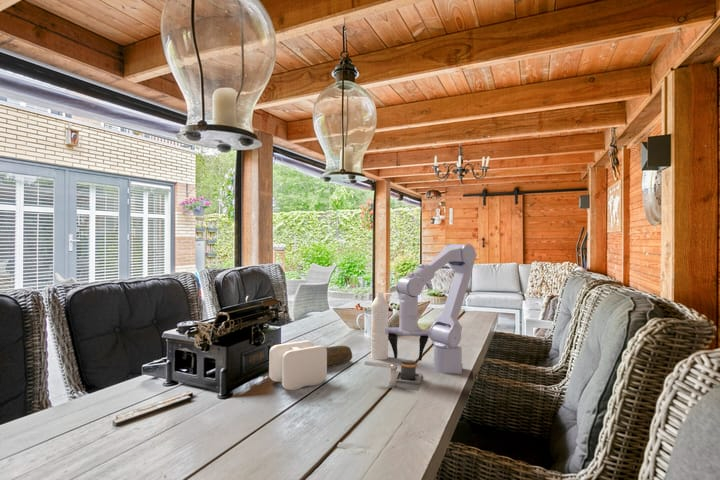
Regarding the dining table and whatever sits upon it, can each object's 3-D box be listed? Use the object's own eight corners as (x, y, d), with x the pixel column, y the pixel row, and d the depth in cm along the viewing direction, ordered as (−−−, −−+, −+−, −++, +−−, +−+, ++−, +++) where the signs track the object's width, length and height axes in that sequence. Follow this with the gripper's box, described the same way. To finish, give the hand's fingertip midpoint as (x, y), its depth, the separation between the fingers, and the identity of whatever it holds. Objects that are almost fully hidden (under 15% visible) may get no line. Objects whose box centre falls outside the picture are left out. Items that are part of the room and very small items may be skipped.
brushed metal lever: (397, 367, 112) (397, 364, 112) (396, 369, 110) (396, 366, 110) (366, 363, 115) (366, 360, 115) (364, 365, 114) (364, 362, 114)
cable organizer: (281, 394, 107) (281, 353, 107) (268, 382, 116) (268, 344, 116) (327, 383, 115) (327, 345, 116) (311, 373, 124) (312, 338, 124)
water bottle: (367, 358, 140) (367, 291, 140) (379, 355, 144) (380, 290, 144) (383, 364, 133) (384, 294, 134) (396, 360, 138) (396, 293, 138)
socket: (422, 376, 122) (422, 358, 122) (418, 393, 108) (418, 372, 108) (394, 373, 124) (394, 356, 124) (387, 390, 110) (387, 370, 110)
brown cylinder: (320, 373, 124) (320, 353, 124) (308, 367, 130) (308, 348, 130) (354, 363, 134) (354, 345, 134) (342, 358, 140) (342, 341, 140)
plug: (411, 375, 121) (412, 359, 121) (418, 380, 116) (418, 363, 116) (397, 376, 119) (398, 360, 119) (404, 380, 115) (404, 364, 115)
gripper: (383, 316, 115) (383, 360, 115) (431, 319, 112) (430, 364, 112) (387, 312, 122) (386, 353, 122) (432, 314, 119) (431, 357, 119)
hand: (408, 358), depth 118 cm, fingers open, 7 cm apart
